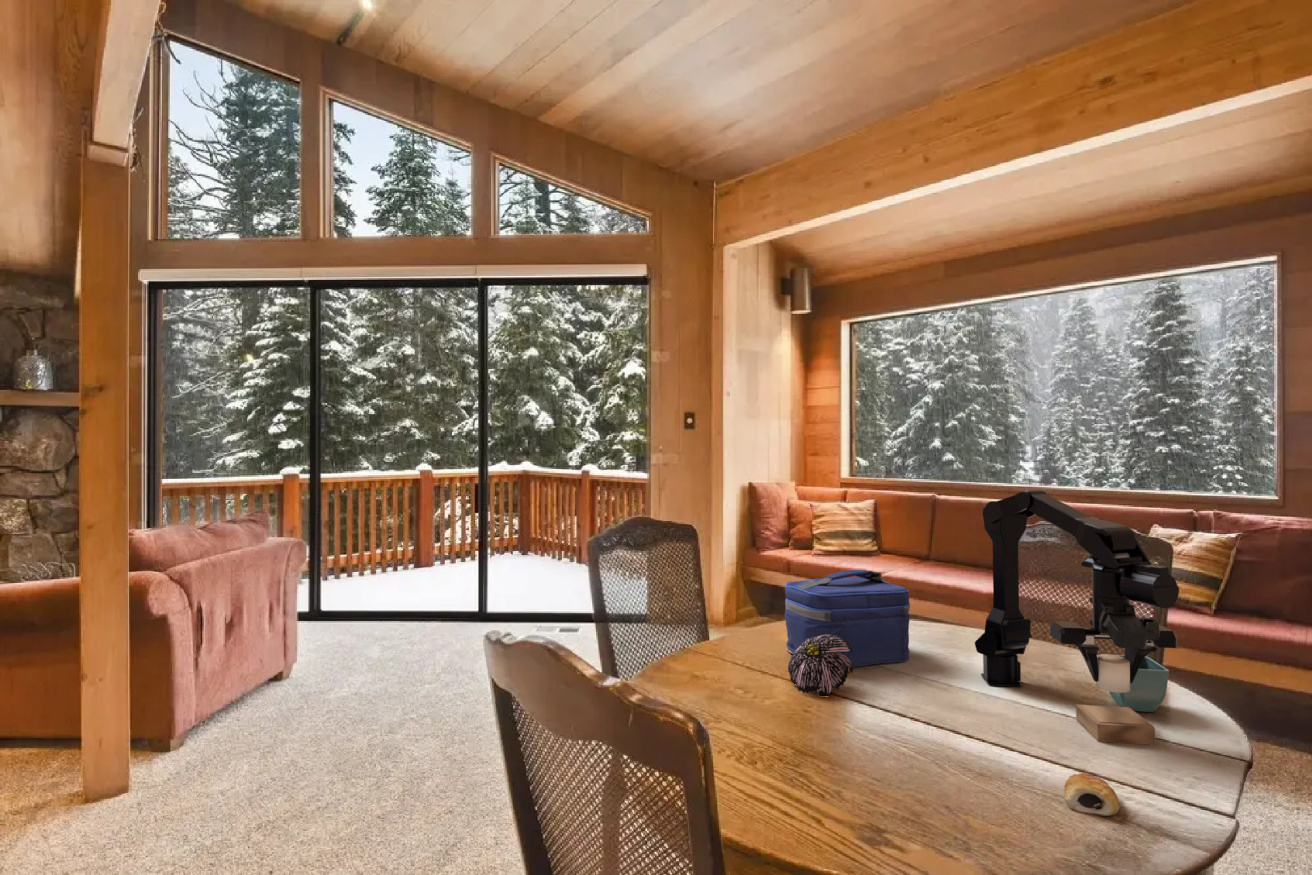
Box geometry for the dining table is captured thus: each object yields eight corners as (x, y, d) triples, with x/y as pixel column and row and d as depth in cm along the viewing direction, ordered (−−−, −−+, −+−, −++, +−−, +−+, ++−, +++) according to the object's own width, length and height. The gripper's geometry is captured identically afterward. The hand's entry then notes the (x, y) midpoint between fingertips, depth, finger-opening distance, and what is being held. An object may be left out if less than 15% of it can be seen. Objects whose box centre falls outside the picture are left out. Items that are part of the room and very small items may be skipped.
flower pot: (1171, 717, 129) (1170, 670, 129) (1119, 714, 131) (1118, 667, 131) (1148, 700, 138) (1147, 655, 138) (1099, 697, 140) (1098, 653, 140)
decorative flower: (768, 639, 151) (822, 613, 156) (773, 681, 155) (826, 653, 161) (810, 676, 138) (867, 646, 144) (814, 721, 143) (870, 689, 148)
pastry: (1064, 781, 107) (1063, 757, 107) (1116, 793, 103) (1116, 767, 103) (1064, 810, 98) (1064, 783, 99) (1121, 823, 95) (1120, 795, 95)
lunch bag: (879, 636, 185) (877, 561, 186) (931, 660, 165) (930, 575, 165) (775, 648, 176) (774, 569, 177) (818, 675, 156) (816, 585, 156)
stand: (1097, 741, 120) (1097, 723, 120) (1076, 720, 129) (1076, 703, 129) (1155, 744, 118) (1154, 726, 118) (1129, 723, 127) (1129, 706, 127)
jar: (1090, 681, 127) (1090, 652, 127) (1121, 682, 126) (1121, 654, 126) (1103, 691, 122) (1103, 661, 122) (1136, 693, 121) (1135, 663, 121)
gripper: (1073, 604, 118) (1074, 695, 117) (1195, 607, 114) (1197, 701, 114) (1048, 590, 128) (1049, 673, 128) (1159, 592, 125) (1161, 678, 125)
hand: (1112, 681), depth 124 cm, fingers closed on jar, 5 cm apart
